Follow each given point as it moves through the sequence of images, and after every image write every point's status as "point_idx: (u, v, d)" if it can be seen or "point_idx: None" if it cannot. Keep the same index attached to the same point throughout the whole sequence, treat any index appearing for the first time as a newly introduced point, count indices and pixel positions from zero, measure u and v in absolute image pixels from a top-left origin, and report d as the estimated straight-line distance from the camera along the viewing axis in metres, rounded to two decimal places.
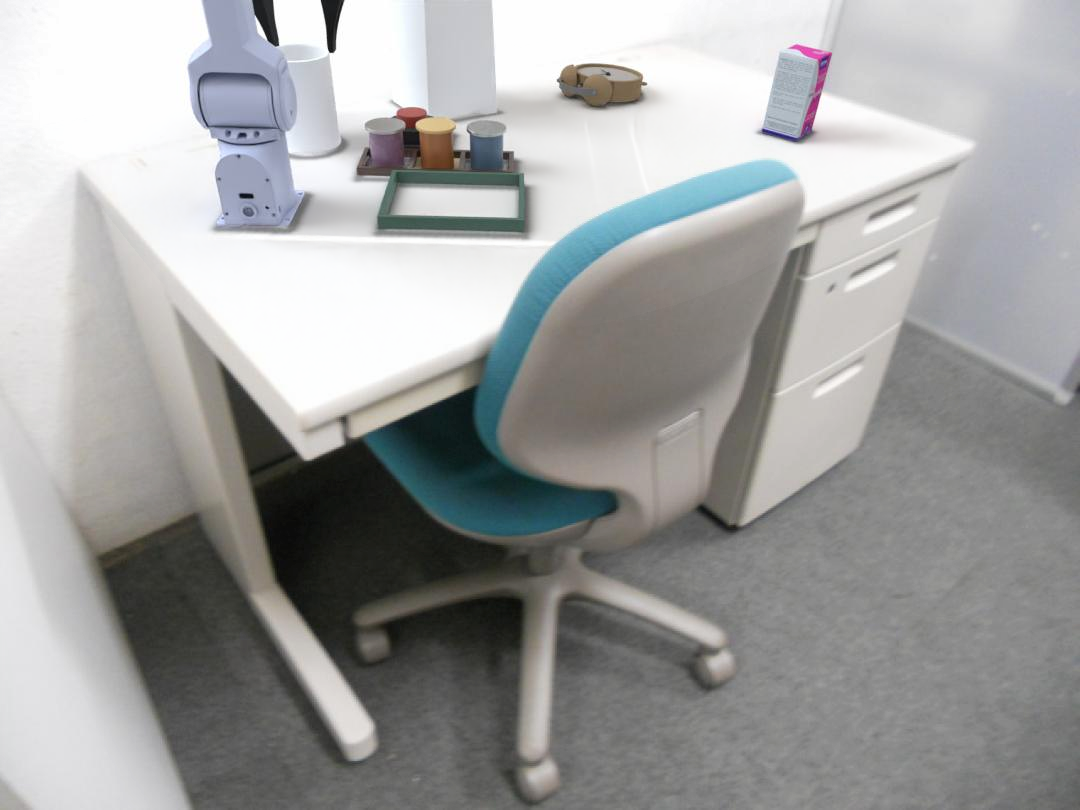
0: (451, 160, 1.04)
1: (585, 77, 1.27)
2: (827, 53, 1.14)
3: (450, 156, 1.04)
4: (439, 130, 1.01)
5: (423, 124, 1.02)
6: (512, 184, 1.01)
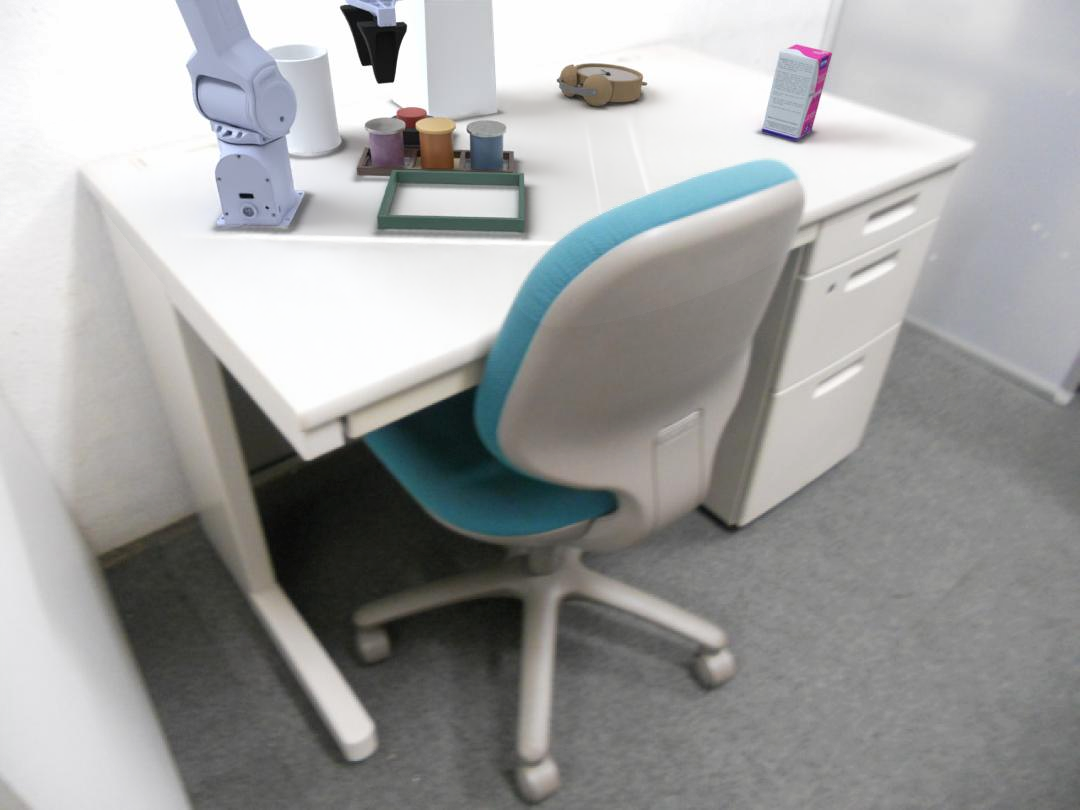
0: (451, 160, 1.04)
1: (585, 77, 1.27)
2: (827, 53, 1.14)
3: (450, 156, 1.04)
4: (439, 130, 1.01)
5: (423, 124, 1.02)
6: (512, 184, 1.01)
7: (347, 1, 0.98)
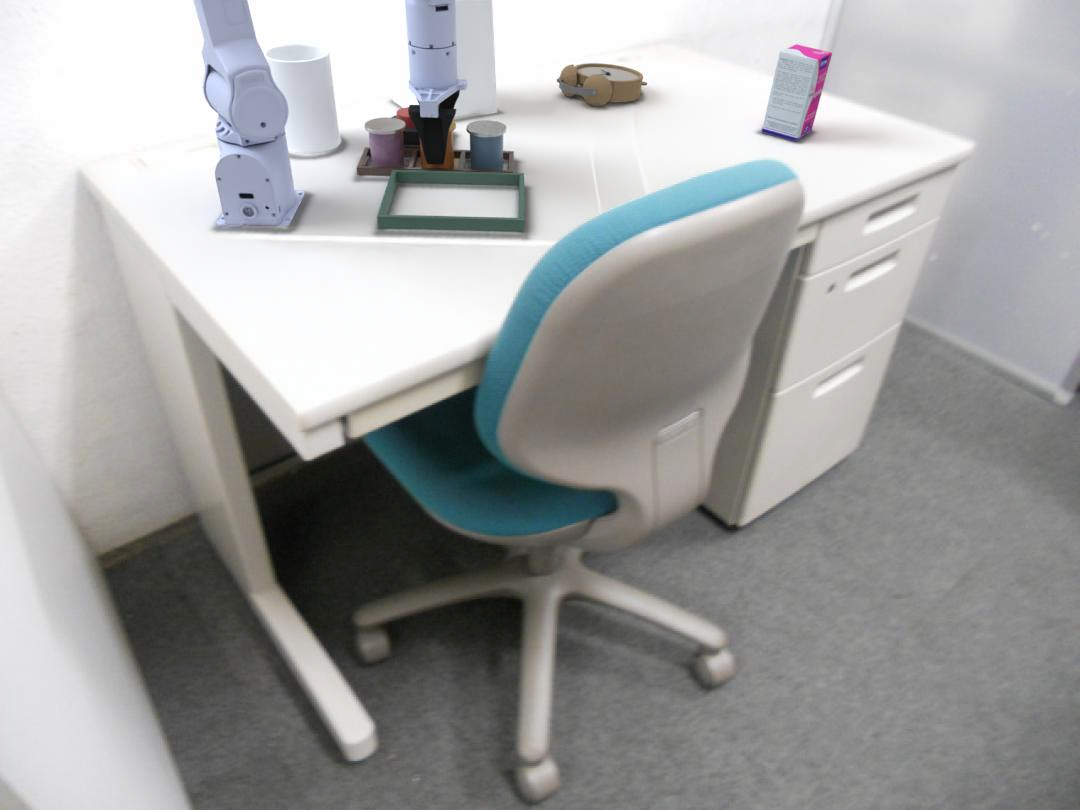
0: (451, 160, 1.04)
1: (585, 77, 1.27)
2: (827, 53, 1.14)
3: (450, 156, 1.04)
4: None
5: None
6: (512, 184, 1.01)
7: None
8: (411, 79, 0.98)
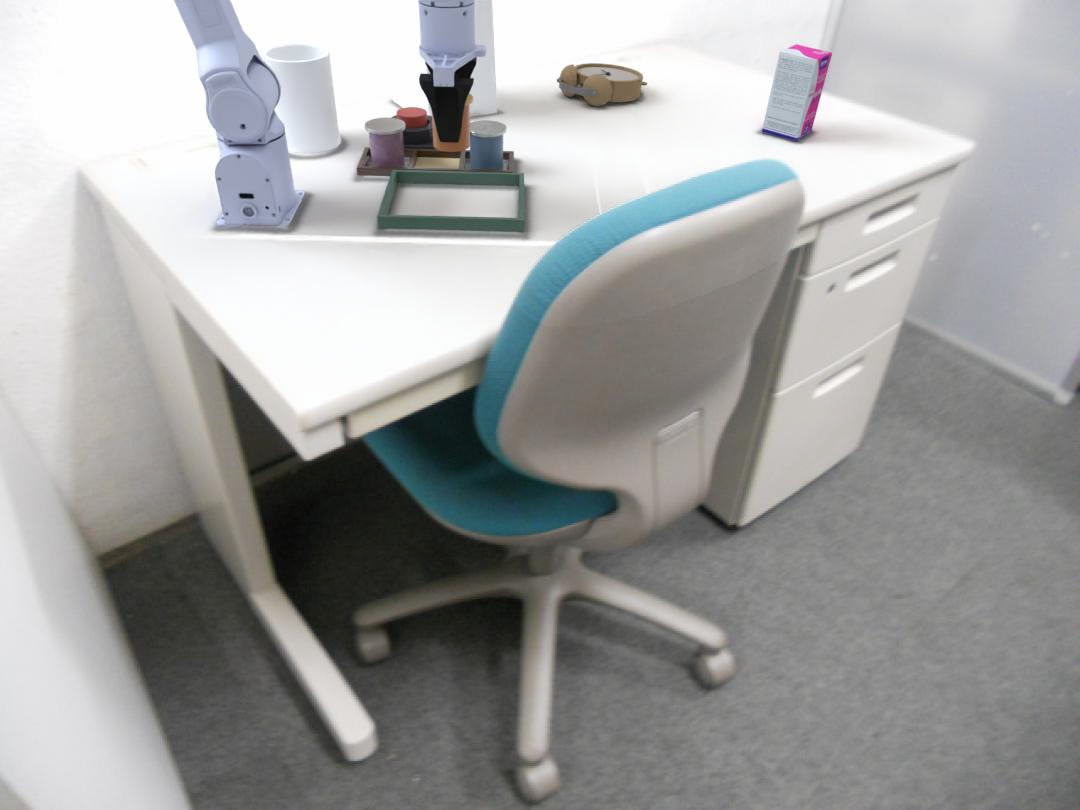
0: (467, 138, 0.92)
1: (585, 77, 1.27)
2: (827, 53, 1.14)
3: (466, 134, 0.92)
4: None
5: None
6: (512, 184, 1.01)
7: (419, 52, 0.87)
8: (422, 44, 0.85)
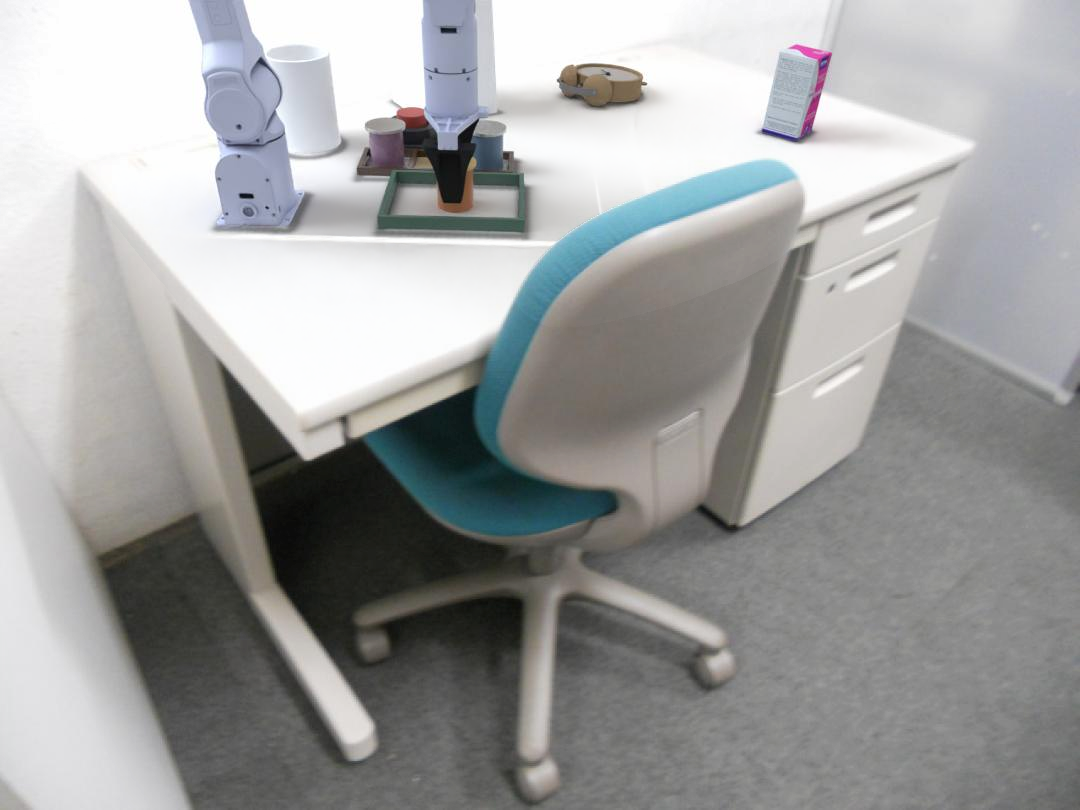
0: (470, 199, 0.95)
1: (585, 77, 1.27)
2: (827, 53, 1.14)
3: (470, 196, 0.95)
4: None
5: None
6: (512, 184, 1.01)
7: (424, 113, 0.89)
8: (427, 106, 0.88)
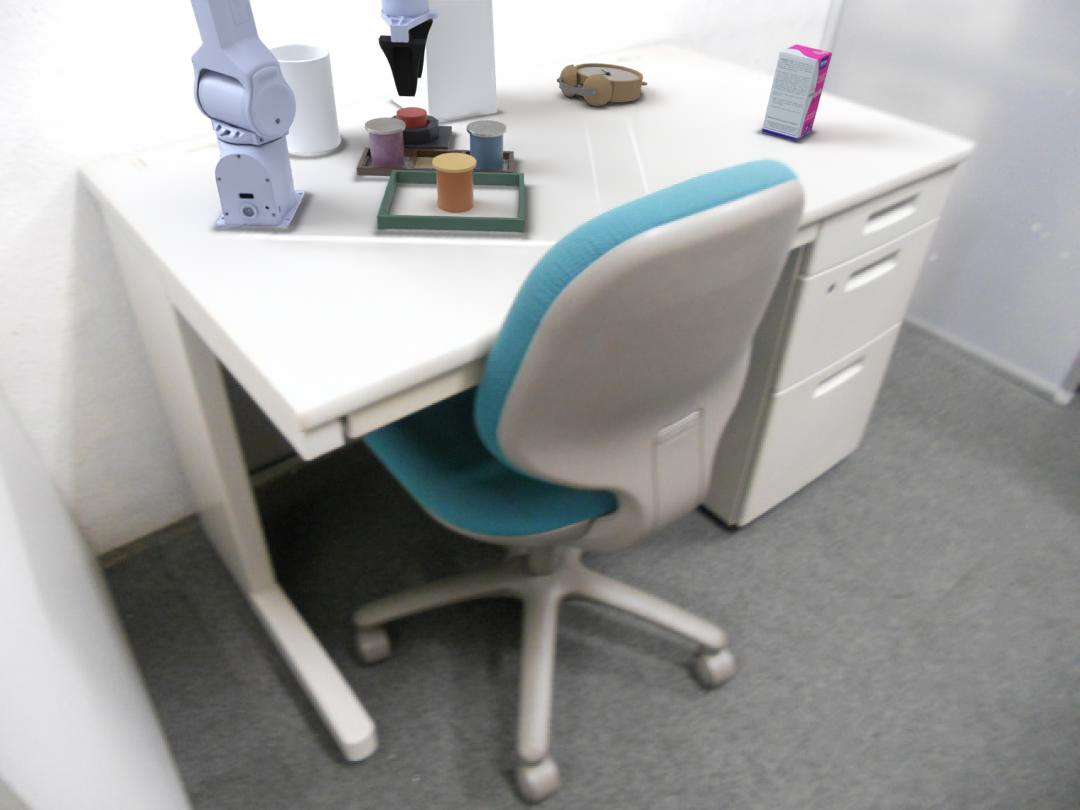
0: (470, 199, 0.95)
1: (585, 77, 1.27)
2: (827, 53, 1.14)
3: (470, 196, 0.95)
4: (458, 168, 0.92)
5: (440, 161, 0.93)
6: (512, 184, 1.01)
7: (381, 14, 1.02)
8: (383, 7, 1.00)
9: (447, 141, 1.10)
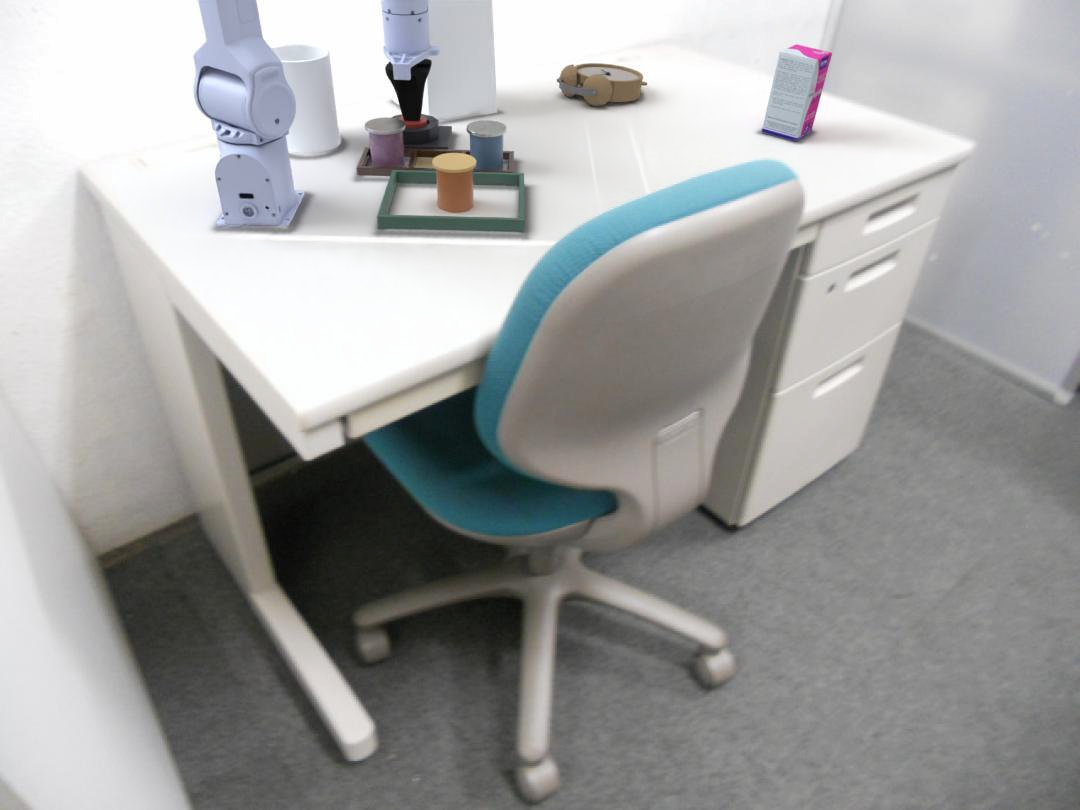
0: (470, 199, 0.95)
1: (585, 77, 1.27)
2: (827, 53, 1.14)
3: (470, 196, 0.95)
4: (458, 168, 0.92)
5: (440, 161, 0.93)
6: (512, 184, 1.01)
7: None
8: (386, 45, 1.03)
9: (447, 141, 1.10)
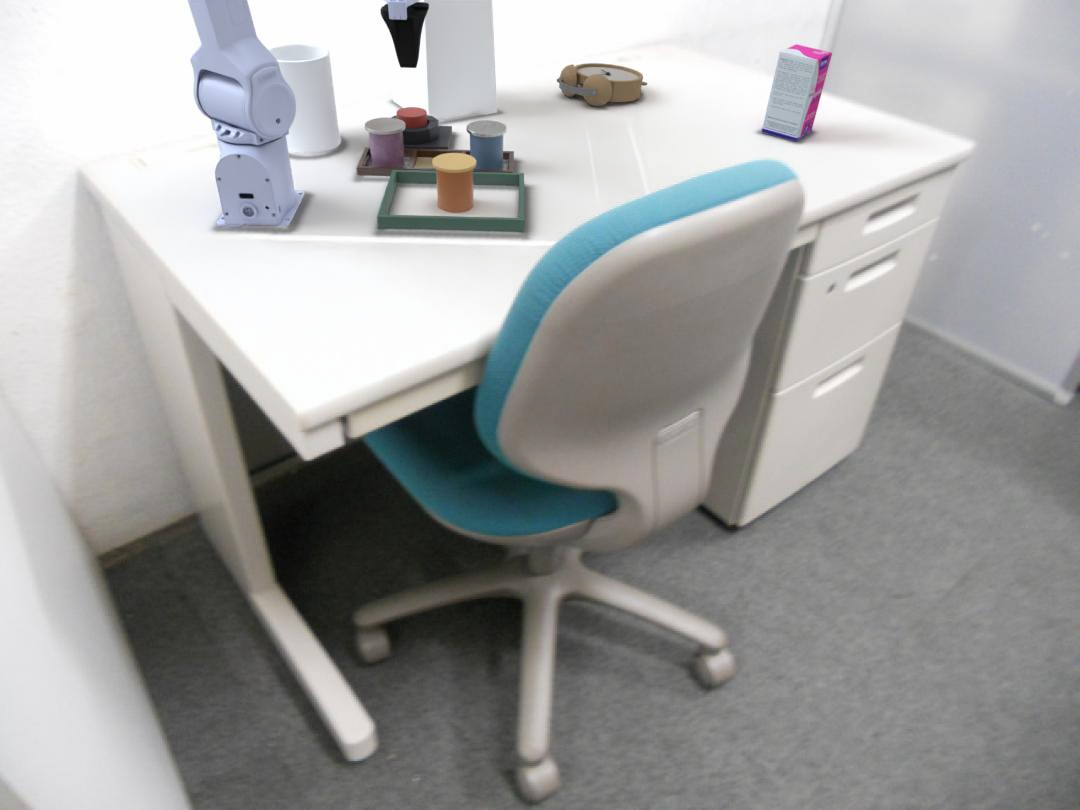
0: (470, 199, 0.95)
1: (585, 77, 1.27)
2: (827, 53, 1.14)
3: (470, 196, 0.95)
4: (458, 168, 0.92)
5: (440, 161, 0.93)
6: (512, 184, 1.01)
7: None
8: None
9: (447, 141, 1.10)
